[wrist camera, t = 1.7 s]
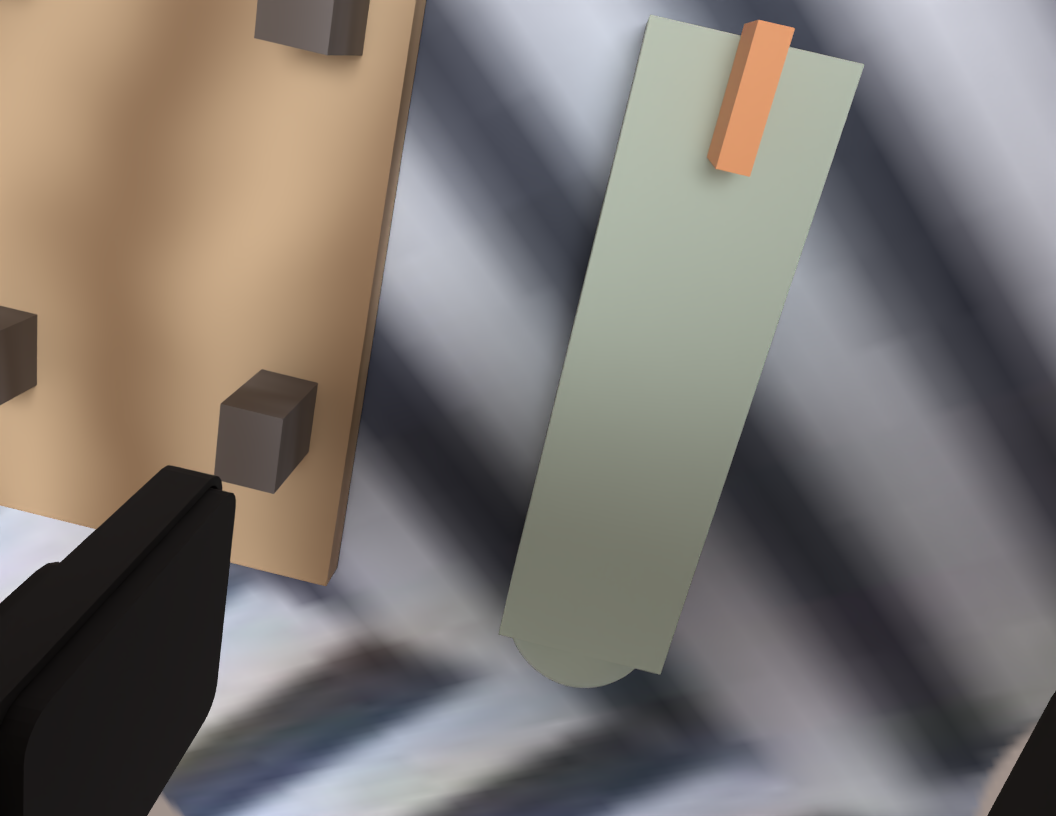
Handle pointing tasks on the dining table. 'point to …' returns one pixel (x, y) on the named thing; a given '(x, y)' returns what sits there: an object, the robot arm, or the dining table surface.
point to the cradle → (196, 253)
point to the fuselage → (670, 338)
